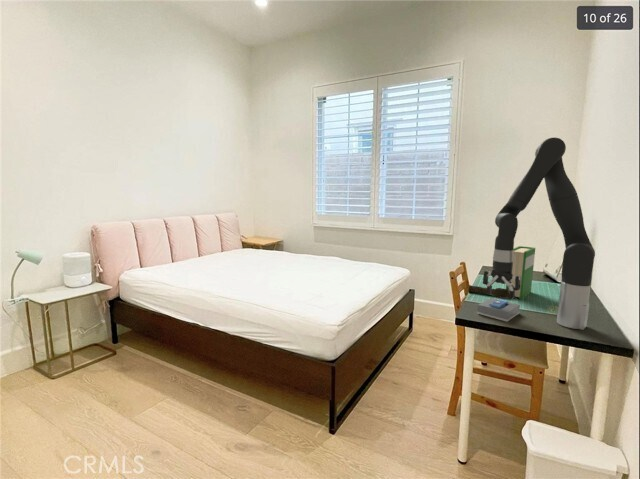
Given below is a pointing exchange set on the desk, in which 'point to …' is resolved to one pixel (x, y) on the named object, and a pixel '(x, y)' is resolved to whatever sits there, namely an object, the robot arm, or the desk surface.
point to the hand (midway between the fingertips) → (500, 296)
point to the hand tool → (497, 292)
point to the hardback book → (523, 269)
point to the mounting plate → (498, 310)
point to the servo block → (499, 303)
